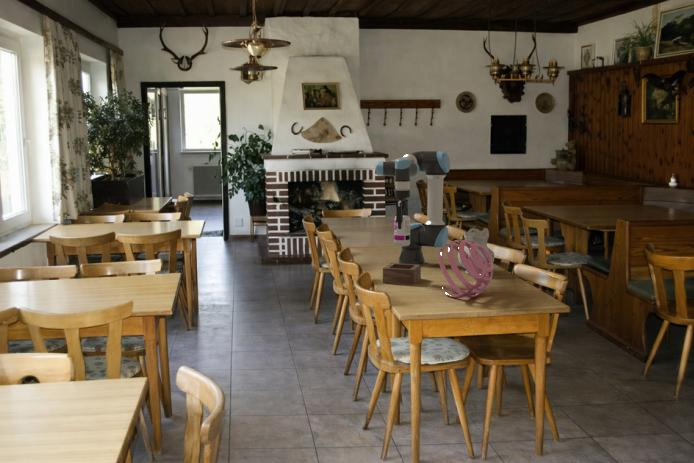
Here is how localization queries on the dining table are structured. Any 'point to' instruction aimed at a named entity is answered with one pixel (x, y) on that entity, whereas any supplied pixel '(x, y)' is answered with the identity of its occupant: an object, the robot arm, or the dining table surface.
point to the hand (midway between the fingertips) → (402, 233)
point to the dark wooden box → (402, 273)
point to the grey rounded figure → (480, 239)
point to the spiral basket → (467, 268)
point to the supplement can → (405, 238)
